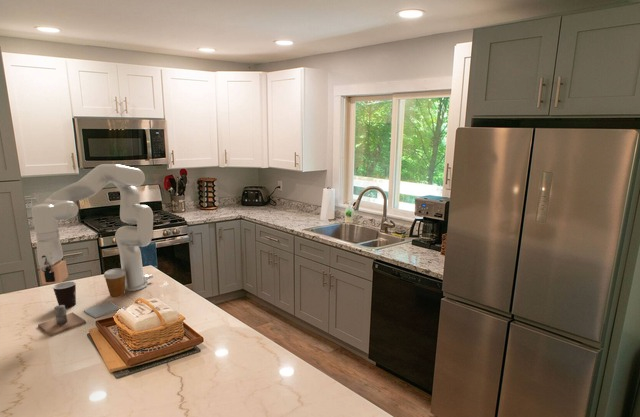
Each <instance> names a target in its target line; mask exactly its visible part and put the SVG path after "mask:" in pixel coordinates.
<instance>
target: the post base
mask: <svg viewBox="0 0 640 417" xmlns="http://www.w3.org/2000/svg"><path fill="white" fill-rule="evenodd" d="M66 310H67V309H65V305H56V306H55V307H54V314H55V318H52V319H50V320H47V321H44V322H41V323H39V324H37V326H38V328H39V329H41V330H42V331H43V332H44V333H46V334H47V335H48V336H50V337H53V336H56V335H59V334H62V333H63V332H67V331H70V330H72V329H74V328H77V327H80V326H83V325H84V324H85V325H86V324H87V320H85V319H83V318H82V317H81V316H79V315H77V314H76V313H74V312H70V313H67V312H66Z"/></svg>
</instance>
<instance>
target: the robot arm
mask: <svg viewBox="0 0 640 417" xmlns="http://www.w3.org/2000/svg"><path fill="white" fill-rule="evenodd" d="M145 176H146V175H145V173H144V172H143V170H141V169H140V168H136V167H131V166H127V165H122V164H117V163H115V164H114V163H113V164H112V163H102V164H99V165H97V166H95V167H94V168H93V169H91V170H90V171H89V172H87V173H86V175H84V176H83V177H82V178H81V179H79V180H78V181H76V182H73V183H70V184H68V185H66V186H65V187H64V186H63V187H62V188H59V189H58V190H56V191H54V192H52V194H51V195H50V196H48V197H46V199H44V201H42V203H41V204H39V203H38V204H35V205H33V206H32V207H31V217H32V220H33V221H32V222H33V226H34V233H35V238H36V256H37V262H38V266H39V267H40V269H41V270H42V271H43V273H44V275H45V281H46V282H54V281H55V277H54V272H52V269H53V268H52V266H53V265H54V264H55V263H57V262H58V261H64V255H65V254H64V251H63V247H62V243H61V237H60V236H61V235H60V230H59V225H58V221H62V220H70V219H73V218H75V217H76V216H77V215H78V213H79V206H78V204H77V203H76V202H77V201H82V200H86V199H90V198H91V197H94V196H96V194H98V193H99V192H100V191H101V190H102V189H103V188H105V187H106V186H107V185H108V184H113V185H114V186H115V187H116V188H117V189H118V191H119V193H120V204H119V205H120V207H119V218H120V221H121V222H122V223H125V224H132V225H124V226H121V227H118V228H117V230H116V231H115V233H114V234H115V235H114V238H115V241H116V244H117V248H118V251H119V259H120V266H121V268H122V269H124V270H125V271H126V274H125V292H135V291H139V290H142V289H144V288H146V287H148V285H149V282H148V280H150V279H154V276H153V274H145V275H144V269H143V268H144V267H143V259H142V252H141V251H142V250H141V248H140V247H142V248H143V247H147V246H149V245H150V244H151V243H152V242H151V241H152V239H153V229H154V213H153V210H152V208H151V207H150V206H148V205H146V204H140V202H141V201H140V198H141V196H140V192H139V189H138V188H137V187H140V186H142V185H143V184H144V183H145V180H146V177H145ZM133 224H136V226H134V225H133ZM46 263H49V265H46ZM47 266H50V268H46V267H47ZM40 269H39V270H40Z"/></svg>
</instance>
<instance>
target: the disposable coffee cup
mask: <svg viewBox="0 0 640 417" xmlns="http://www.w3.org/2000/svg"><path fill="white" fill-rule="evenodd" d="M125 274H126V271H125V270H124V269H122V268H112V269H108V270H106V271H105V272H104V274H103V278H104V280H105V282H106V286H107V290H108V292H109V295H110V296H109V297H110V298H120V297H123V296H124V295H126V293H125V292H126V291H125Z"/></svg>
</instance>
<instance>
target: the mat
mask: <svg viewBox="0 0 640 417" xmlns="http://www.w3.org/2000/svg"><path fill="white" fill-rule="evenodd" d="M120 308H121V309H122V307H120V306H119V305H117V304H115V303H113V302H111V301H107V302H106V301H105V302H103V303H101V304H97V305H95V306H92V307H89V308H86V309H84V310H83V312H84V313H85V314H87V315H88V316H90V317H92V318H94V319H98V318H101V317H103V316H107V315H109V314H111V313H114V312H116V311H119V310H118V309H120ZM121 309H120V310H121Z"/></svg>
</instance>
